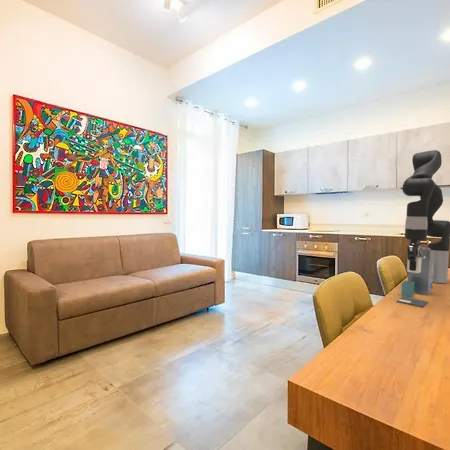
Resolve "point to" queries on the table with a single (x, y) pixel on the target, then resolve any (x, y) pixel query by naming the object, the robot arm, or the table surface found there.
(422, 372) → the table surface
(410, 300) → the pad
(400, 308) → the table surface
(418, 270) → the block
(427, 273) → the unit
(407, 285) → the block
